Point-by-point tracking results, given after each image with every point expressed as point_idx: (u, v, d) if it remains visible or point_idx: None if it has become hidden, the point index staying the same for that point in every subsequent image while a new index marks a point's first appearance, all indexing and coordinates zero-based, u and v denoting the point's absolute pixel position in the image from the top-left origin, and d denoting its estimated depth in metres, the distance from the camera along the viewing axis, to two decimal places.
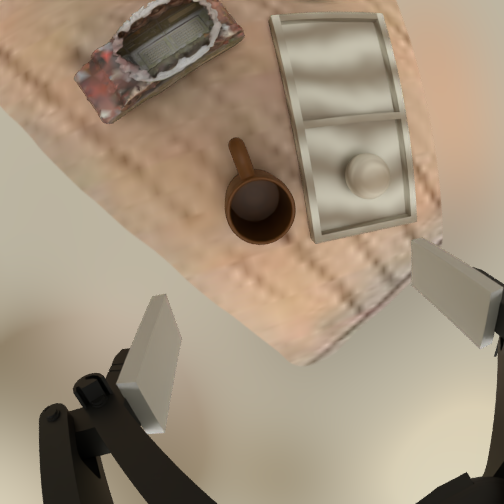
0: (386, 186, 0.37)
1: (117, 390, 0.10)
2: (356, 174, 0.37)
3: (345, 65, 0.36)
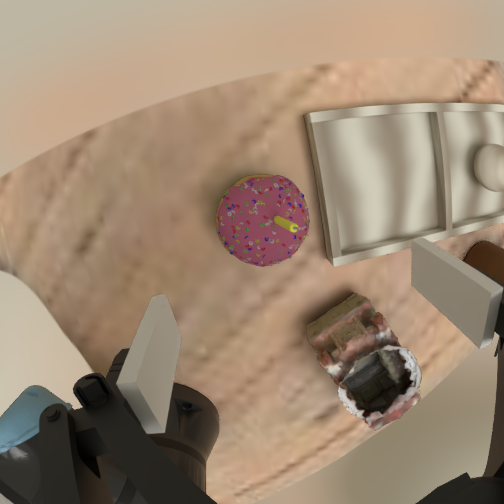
0: None
1: (117, 390, 0.10)
2: (501, 189, 0.29)
3: (384, 170, 0.32)
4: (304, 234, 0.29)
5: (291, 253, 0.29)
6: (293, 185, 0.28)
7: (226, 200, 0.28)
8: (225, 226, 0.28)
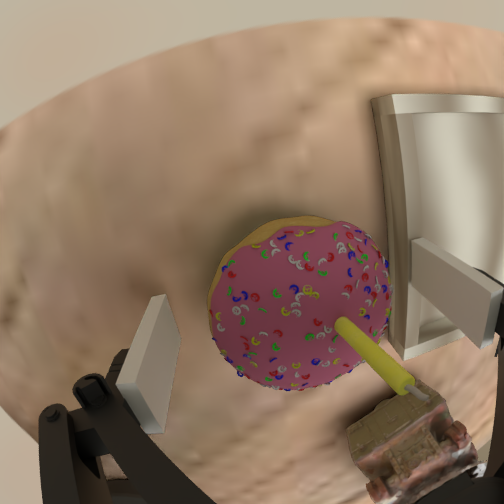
0: None
1: (117, 390, 0.10)
2: None
3: (483, 203, 0.17)
4: (380, 335, 0.14)
5: None
6: (371, 244, 0.13)
7: (230, 277, 0.12)
8: (227, 333, 0.13)
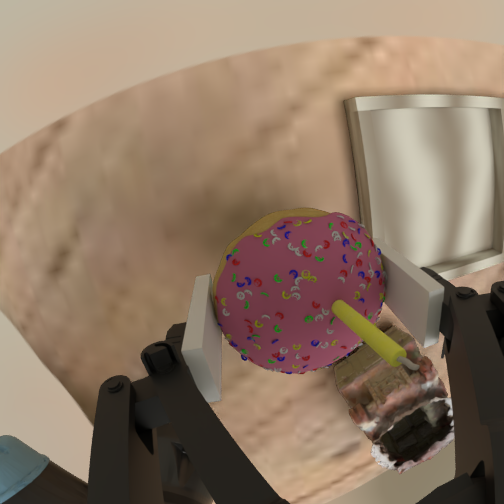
0: None
1: None
2: None
3: (440, 178, 0.23)
4: (375, 319, 0.15)
5: None
6: (364, 233, 0.14)
7: (234, 265, 0.14)
8: (232, 318, 0.14)
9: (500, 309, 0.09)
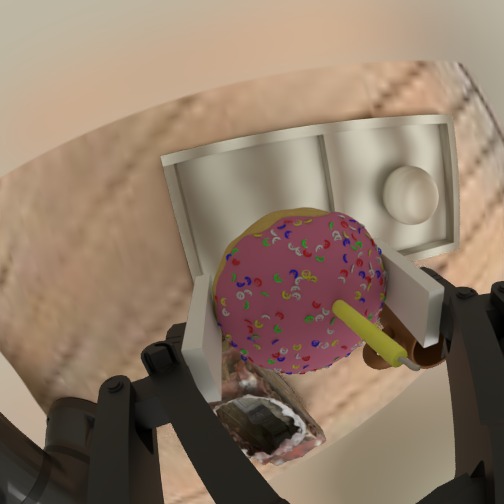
0: (431, 183, 0.26)
1: None
2: (414, 222, 0.28)
3: (257, 208, 0.31)
4: (376, 320, 0.15)
5: None
6: (364, 232, 0.14)
7: (234, 265, 0.13)
8: (232, 318, 0.14)
9: (500, 309, 0.09)
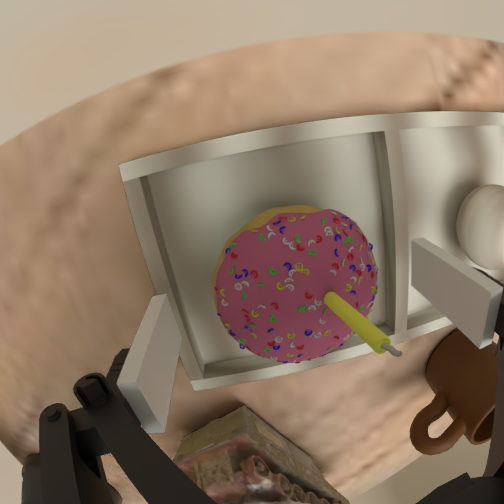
0: None
1: (117, 390, 0.10)
2: (500, 268, 0.17)
3: None
4: (368, 312, 0.16)
5: None
6: (356, 229, 0.15)
7: (232, 258, 0.14)
8: (230, 308, 0.15)
9: None
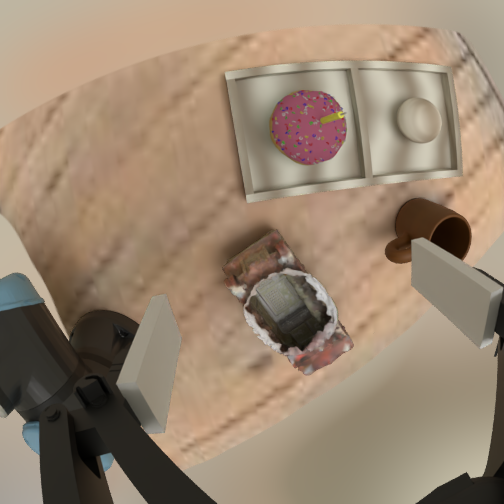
0: (435, 108, 0.31)
1: (117, 390, 0.10)
2: (423, 138, 0.33)
3: None
4: (343, 139, 0.32)
5: (332, 154, 0.33)
6: (334, 99, 0.31)
7: (281, 105, 0.31)
8: (279, 124, 0.31)
9: None
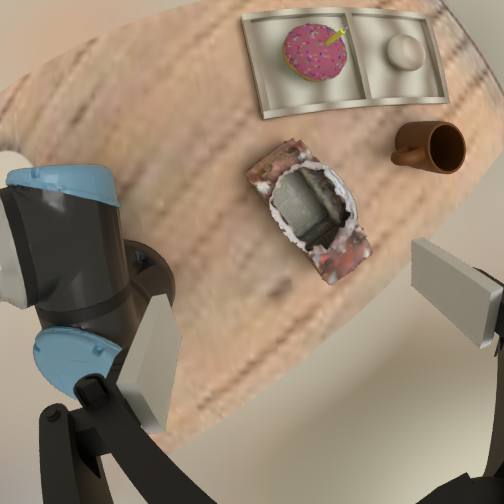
0: (418, 41, 0.34)
1: (117, 390, 0.10)
2: (411, 64, 0.35)
3: None
4: (344, 60, 0.34)
5: (337, 71, 0.35)
6: (334, 31, 0.33)
7: (291, 33, 0.33)
8: (291, 47, 0.33)
9: None
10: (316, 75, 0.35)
